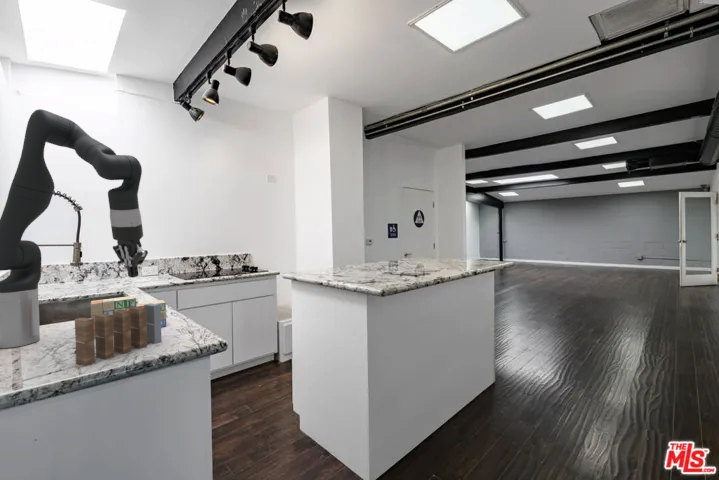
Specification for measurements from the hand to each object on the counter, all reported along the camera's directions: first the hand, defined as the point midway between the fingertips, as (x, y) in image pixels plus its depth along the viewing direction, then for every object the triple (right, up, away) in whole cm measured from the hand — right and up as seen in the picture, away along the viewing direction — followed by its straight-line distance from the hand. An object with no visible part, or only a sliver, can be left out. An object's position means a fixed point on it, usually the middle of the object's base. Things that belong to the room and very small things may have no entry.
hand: (133, 276), depth 98 cm
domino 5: (+5, -21, +2) cm, 22 cm away
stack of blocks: (-11, -22, +14) cm, 28 cm away
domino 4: (+3, -22, -2) cm, 22 cm away
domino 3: (+1, -22, -6) cm, 22 cm away
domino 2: (-1, -22, -10) cm, 24 cm away
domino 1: (-3, -22, -14) cm, 26 cm away
